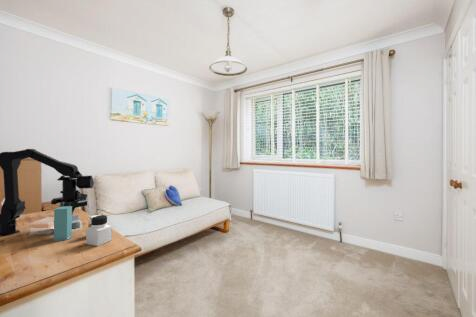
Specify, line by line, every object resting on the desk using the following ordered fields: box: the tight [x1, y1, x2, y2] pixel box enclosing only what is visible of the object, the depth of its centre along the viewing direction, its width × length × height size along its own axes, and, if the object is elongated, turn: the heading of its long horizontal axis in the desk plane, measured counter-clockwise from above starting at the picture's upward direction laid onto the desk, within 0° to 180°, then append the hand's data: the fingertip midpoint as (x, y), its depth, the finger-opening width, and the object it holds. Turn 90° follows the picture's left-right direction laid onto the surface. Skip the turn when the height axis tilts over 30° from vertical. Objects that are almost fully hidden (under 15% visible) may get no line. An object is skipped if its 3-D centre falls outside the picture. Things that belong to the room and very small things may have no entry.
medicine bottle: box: [85, 214, 113, 247], centre depth 99 cm, size 7×7×12 cm
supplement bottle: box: [87, 214, 99, 228], centre depth 107 cm, size 5×5×10 cm
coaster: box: [53, 234, 73, 242], centre depth 102 cm, size 7×7×1 cm
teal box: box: [53, 206, 73, 241], centre depth 102 cm, size 5×5×14 cm
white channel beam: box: [72, 220, 83, 232], centre depth 115 cm, size 13×7×4 cm, turn 71°
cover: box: [52, 214, 81, 223], centre depth 115 cm, size 10×7×3 cm
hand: (69, 218), depth 114 cm, fingers closed
